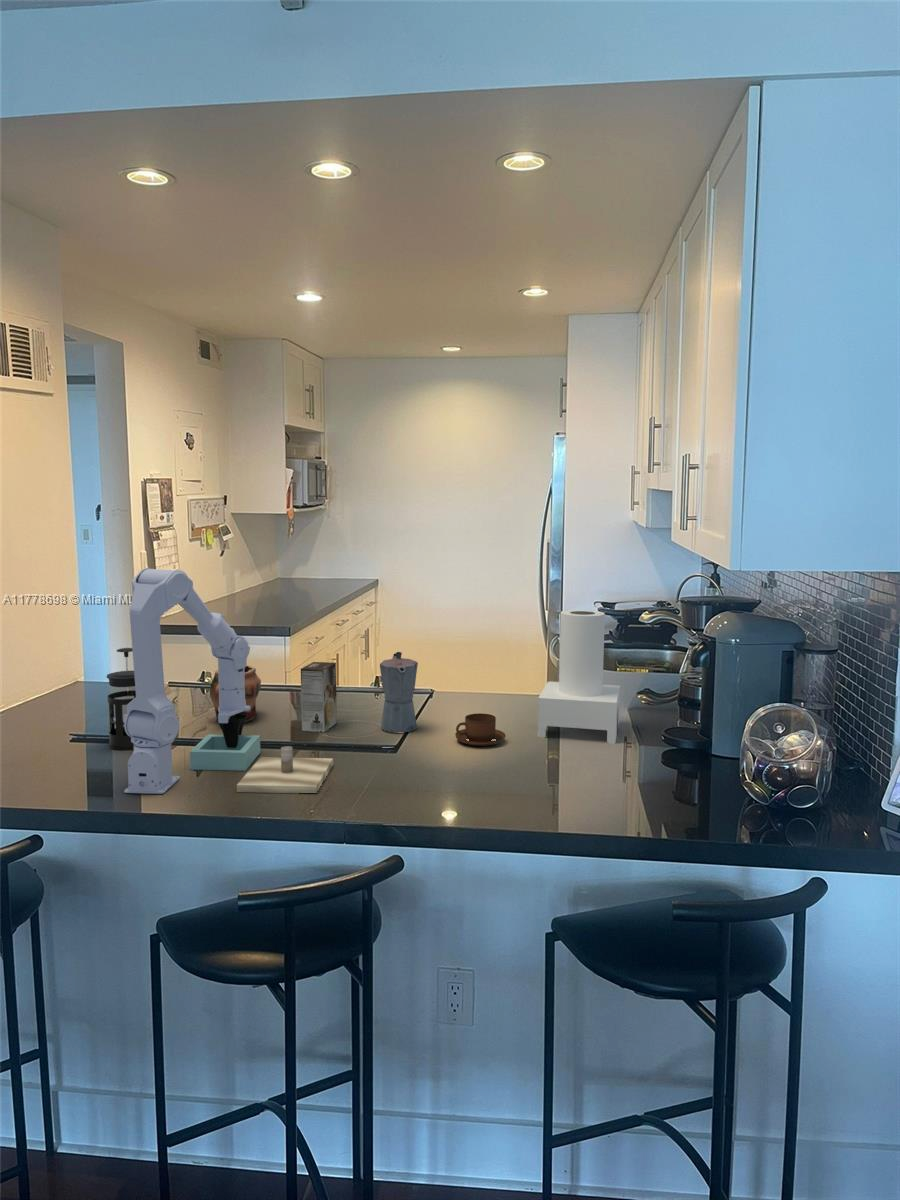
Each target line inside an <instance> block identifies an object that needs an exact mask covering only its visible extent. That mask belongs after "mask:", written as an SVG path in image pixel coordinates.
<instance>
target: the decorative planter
mask: <svg viewBox="0 0 900 1200" xmlns="http://www.w3.org/2000/svg"><path fill="white" fill-rule="evenodd" d="M256 670H257V669H256V667H253V666H251V665H248V664H247V665H246V667H245V668H244V672H245V699H246V706H250V708H251V709H250V710H248V711H243V712H248V716H247V718H246V720H245V723H246V722H249V721H252V720H254V718H256V716H257V707H256V706H257V705H256V703H257V697H258V696H259V692H260V691H261V688H262V687H261V686H262V685H261V684H262V680H261V678H260V677H259V676H258V675H257V673H256V672H257V671H256ZM209 695H210V699H211V701H212V704H213V706H214V712H215V716H216V719H217V718H218V714H219V711H218V707H219V678H218V669H216V670H215V672H214V676H213V677H212V680H211V682H210V687H209Z"/></svg>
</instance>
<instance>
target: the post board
mask: <svg viewBox="0 0 900 1200" xmlns="http://www.w3.org/2000/svg"><path fill="white" fill-rule="evenodd" d="M293 755H294V752H293V746H291V745H287V746H286V745H284V746H281V747H280V757H279V756H278V757H275V756H261V757H259V759H258V760H257V761H256V762H255V763H254V764H253V765H252V767H251V768H250V769H249V770H248V771H247V772H246V773H245V775H244V776H243V777H242V778H241V780H240V781H238V783H237V784H236V792H237V793H255V794H256V793H258V794H259V793H262V794H263V793H264V794H270V793H271V794H299V793H317V794H318V792H319V790H320V789H321V787H322V785H323V784H324V782H325V780H326V778H327V777H328V775H329V773H330V771H331V769H332V768H333V766H334V758H331V757H330V758H329V757H328V758H327V757H323V758H321V757H294V756H293ZM326 776H327V777H326ZM323 781H324V782H323ZM322 783H323V784H322ZM320 786H321V787H320ZM319 788H320V789H319ZM317 791H318V792H317Z"/></svg>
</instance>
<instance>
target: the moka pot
mask: <svg viewBox="0 0 900 1200" xmlns="http://www.w3.org/2000/svg"><path fill="white" fill-rule="evenodd" d="M402 654H403V653H402V652H401V651H397V652H395V653H394V654H393V656H392V658H390V659H384V660H383V661H381V663H379V669H380V679H381V684H382V692H383V693H384V703H383V710H382V717H381V718H382V719H381V725H380V726H381V730H382V729H383V730H384V732H385V731H389V732H394V733H393V734H395V733H396V732H397V733H398V732H408V733H411V732H414V731H415V730H416V729H417V726H418V725H417V720H416V712H415V705H414V700H413V698H414V691H415V688H416V681H417V680H416V679H417V673H418V666H419V663H418V661H416V660H413V659H410V658H403V657H402ZM383 730H382V731H383Z"/></svg>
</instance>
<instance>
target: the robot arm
mask: <svg viewBox="0 0 900 1200" xmlns="http://www.w3.org/2000/svg"><path fill="white" fill-rule="evenodd" d="M131 590H132V599H131V602H130V606H129V607H130V608H129V621H130V622H129V624H130V635H131V636H130V637H131V648H132V650H133V651H132V662H133V663H132V664H133V671H134V676H135V686H134V687H135V689H134V690H136V698H134V697H133V698H134V699H133V698H132V699H133V700H132V701H131V702H130V703H128V704H127V705H126V714H127V715H126V718H125V722H124V725H123V727H124V728H125V731H126V733H127V735H128V736H130V737H131V742H132V743H134V750H133V752H132V754H131V755H130V757H129V758H128V761H127V780H128V781H127V782H128V787H126V788H125V789H124V790H123V792H124V793H125V794H150V795H151V794H160V795H161V794H165V793H166V792H167V791H168V790H169V789H170V788H171V787H172V786H173V785H174V784H175V783H177V782H178V781H179V779H181V777H180V776H179V775H173V759H172V758H173V757H172V755H173V754H172V744H173V743H174V741H175V739H176V737H177V735H178V733H179V730H180V721H179V717H178V716H177V714H176V711H175V705H174V703H173V701H171V700H170V699H169V697H168V696H167V695H166V693H165V692H166V691H165V689H166V688H165V676H164V662H163V661H164V660H163V647H162V646H163V645H162V635H161V634H162V633H161V632H162V631H161V618H162V616H163V615H164V614H165V613H167V612H169V610H171V609H173V608H174V607H176V605H178V606H180V607H181V608H182V609H183V610H184V611H185V612H186V613H187V614H188V615H190V617H191V618H193V620H194V621H195V622H196V623H197V626H196V627H197V631H198V633H199V634H201V636H202V637H203V638H204V639H205V641H206V642H207V643H208V644H209V646H210V647H211V655H212V656H213V657H215V659H217V664H218V665H217V666H218V667H217V670H218V678H219V707H218V711H219V714H218V718H217V717H216V723H217V724H218V726H219V727H220V729H221V731H222V735H224V738H225V742H226V746H227V748H236V747H237V744H238V736H239V735H243V734H242V733H243V729H244V724H245V723H246V722H245V720H246V718H247V716H248V712H243V711H248V710H250V709H251V708H250V706H246V699H245V672H244V668H245V667H246V665H248V664H247V663H248V662H247V660H248V657H249V655H250V652H251V646H250V645H249V642H248V641H247V639H245V637H244V636H242V635H237V633H236V631H235V629H234V628H233V627H231V626H230V625H229V623H228V622H227V621H226V620H225V617H224V615H223V614H222V613H218V612H211V611H210V609H209V608H208V607H207V605H206V604H205V602H204V601H203V599H202V598H201V597H200V595H199V594H198V593H197V591H196V590H195V589H194V581H193V580H192V579H191V578H190V577H189V576H188V575H187V573H186V572H185V571H183V570H181V569H175V570H173V569H156V568H151V567H145V568H143V569H141V570H139V572H137V574H136V575H135V576H134V577H133V578H132V580H131Z"/></svg>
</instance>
